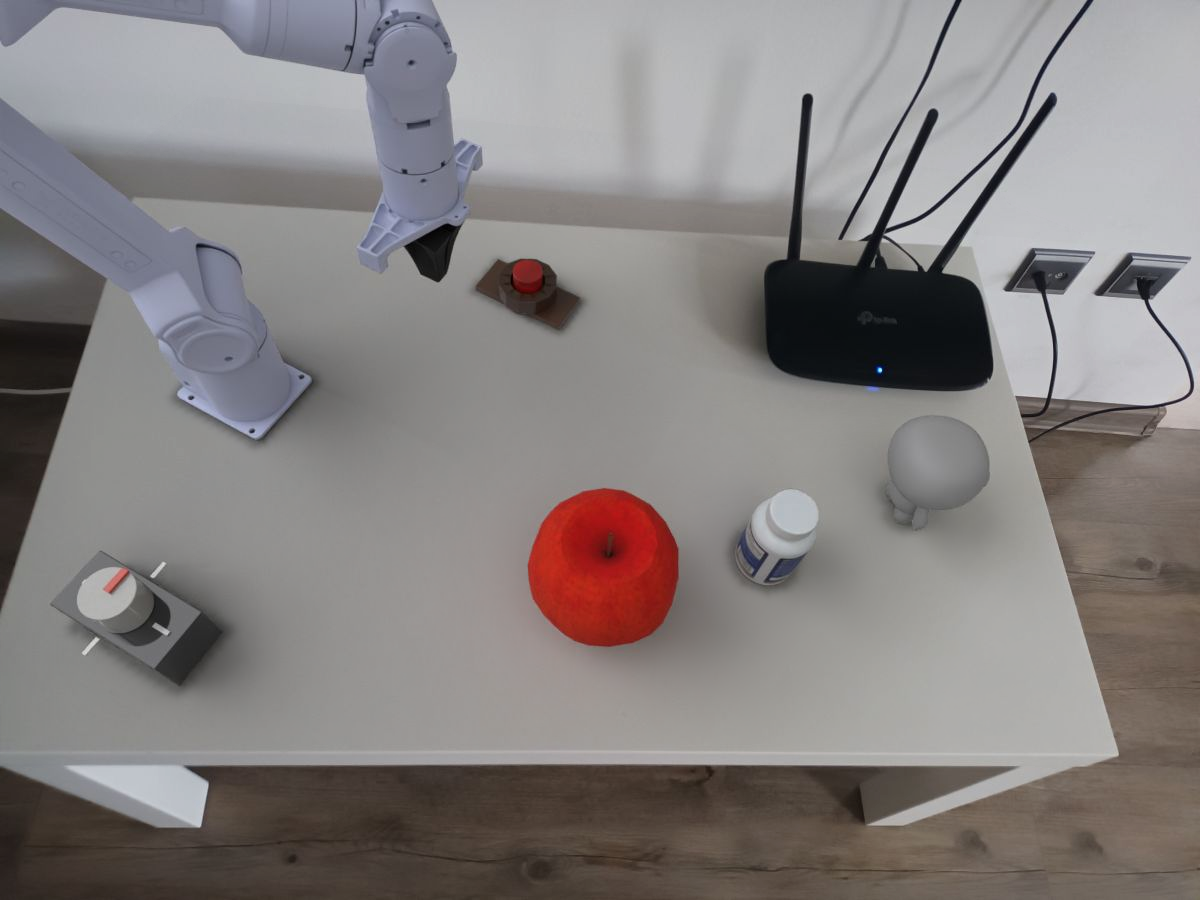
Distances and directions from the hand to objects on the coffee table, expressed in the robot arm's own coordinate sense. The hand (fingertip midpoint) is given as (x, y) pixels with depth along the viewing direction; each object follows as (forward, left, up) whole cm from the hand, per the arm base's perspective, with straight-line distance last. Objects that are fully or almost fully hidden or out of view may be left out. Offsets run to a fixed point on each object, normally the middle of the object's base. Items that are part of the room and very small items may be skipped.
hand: (433, 273), depth 72 cm
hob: (-4, -36, -10) cm, 37 cm away
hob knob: (-4, -36, -5) cm, 36 cm away
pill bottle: (+37, -5, -11) cm, 39 cm away
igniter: (+4, +10, -10) cm, 15 cm away
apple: (+26, -16, -11) cm, 32 cm away
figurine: (+46, +6, -11) cm, 48 cm away
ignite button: (+4, +10, -8) cm, 13 cm away
